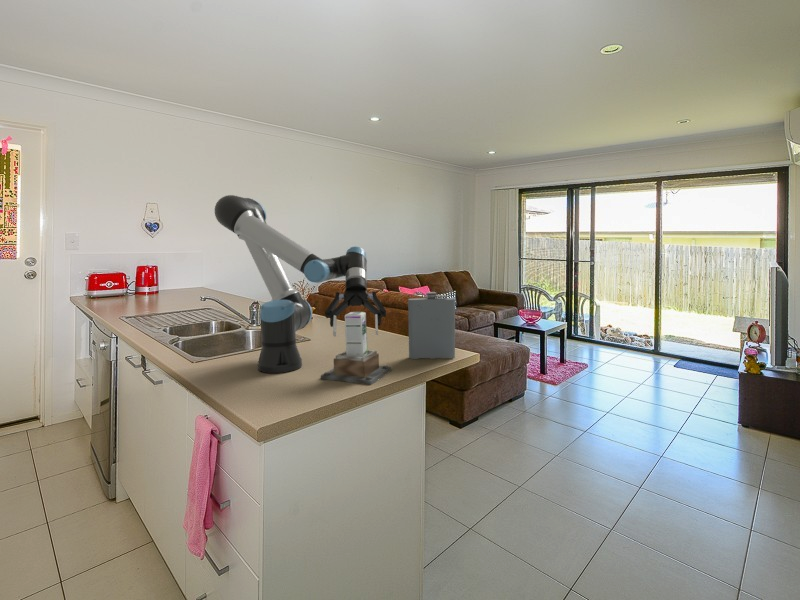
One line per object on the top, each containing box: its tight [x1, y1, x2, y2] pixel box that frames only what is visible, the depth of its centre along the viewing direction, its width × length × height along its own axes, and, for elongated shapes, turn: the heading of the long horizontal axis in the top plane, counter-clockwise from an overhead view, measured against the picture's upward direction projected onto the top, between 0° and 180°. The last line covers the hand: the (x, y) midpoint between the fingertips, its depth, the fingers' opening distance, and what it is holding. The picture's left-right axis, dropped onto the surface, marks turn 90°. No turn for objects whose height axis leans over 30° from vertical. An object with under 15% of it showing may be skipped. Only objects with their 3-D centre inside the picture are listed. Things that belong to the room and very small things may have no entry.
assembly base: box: [320, 349, 392, 385], centre depth 141 cm, size 18×16×7 cm
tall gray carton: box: [407, 291, 456, 360], centre depth 161 cm, size 17×5×25 cm, turn 88°
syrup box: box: [344, 311, 368, 357], centre depth 140 cm, size 6×6×14 cm
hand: (355, 333), depth 137 cm, fingers open, 13 cm apart
